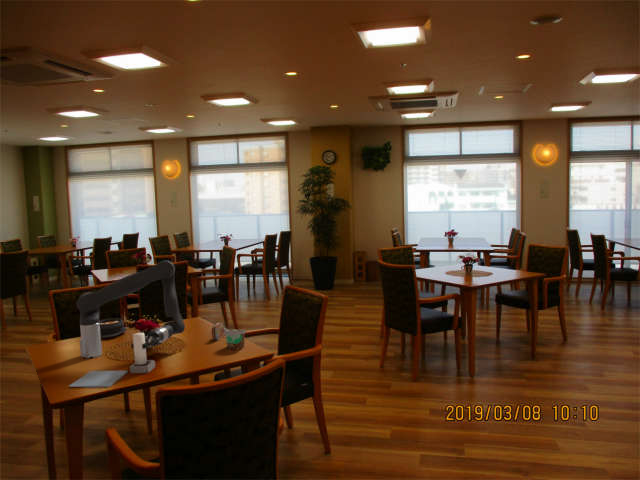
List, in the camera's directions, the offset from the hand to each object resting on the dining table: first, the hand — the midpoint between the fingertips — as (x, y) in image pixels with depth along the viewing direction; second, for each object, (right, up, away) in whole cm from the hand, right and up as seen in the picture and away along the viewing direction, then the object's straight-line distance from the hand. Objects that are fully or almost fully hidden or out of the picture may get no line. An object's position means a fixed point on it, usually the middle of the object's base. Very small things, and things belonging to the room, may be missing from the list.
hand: (137, 346), depth 232 cm
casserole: (-41, -8, +68) cm, 80 cm away
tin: (+28, -6, +52) cm, 59 cm away
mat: (-14, -13, -8) cm, 21 cm away
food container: (+40, -8, +31) cm, 51 cm away
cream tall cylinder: (+1, -8, +2) cm, 9 cm away
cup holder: (+2, -12, +3) cm, 12 cm away
